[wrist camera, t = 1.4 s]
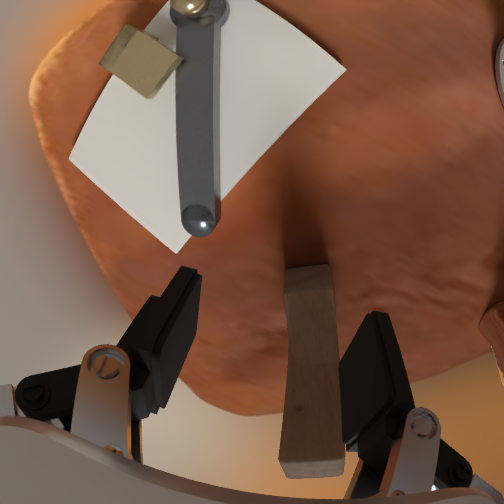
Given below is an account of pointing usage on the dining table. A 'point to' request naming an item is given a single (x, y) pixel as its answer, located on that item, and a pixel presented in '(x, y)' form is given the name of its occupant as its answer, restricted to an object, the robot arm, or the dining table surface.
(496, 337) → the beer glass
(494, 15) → the dining table surface
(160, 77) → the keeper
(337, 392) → the wooden block
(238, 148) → the base plate
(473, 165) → the dining table surface
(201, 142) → the link
